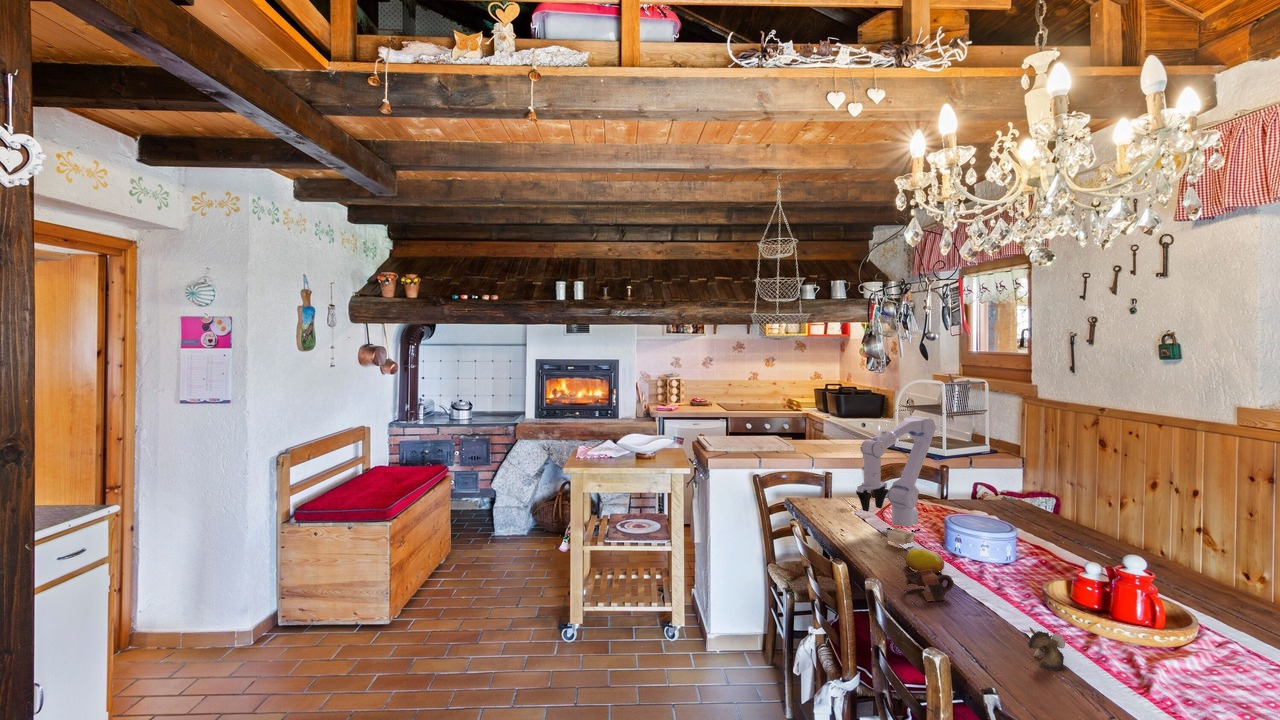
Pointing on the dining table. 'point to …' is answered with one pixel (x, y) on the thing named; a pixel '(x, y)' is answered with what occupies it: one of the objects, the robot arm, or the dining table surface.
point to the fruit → (924, 560)
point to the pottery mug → (931, 583)
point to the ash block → (900, 536)
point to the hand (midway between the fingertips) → (872, 509)
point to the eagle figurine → (1048, 649)
